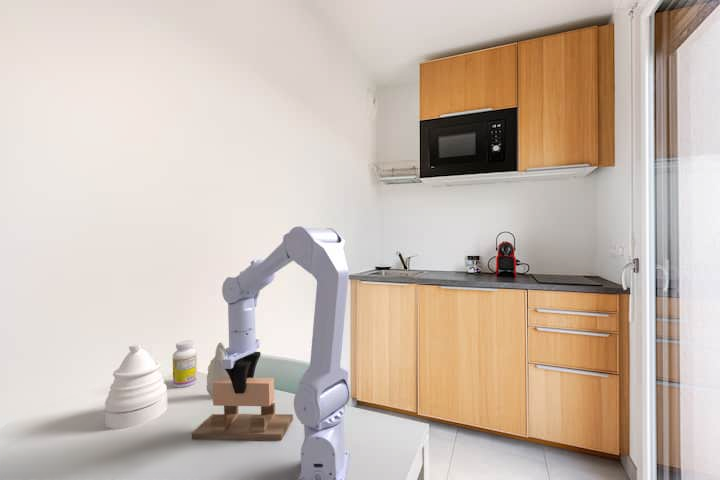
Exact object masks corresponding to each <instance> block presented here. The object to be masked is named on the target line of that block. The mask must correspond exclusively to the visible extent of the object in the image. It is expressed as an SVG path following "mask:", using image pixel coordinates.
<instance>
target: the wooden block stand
mask: <svg viewBox="0 0 720 480" xmlns="http://www.w3.org/2000/svg"><path fill="white" fill-rule="evenodd" d="M293 420H294V415H293V414H291V413H290V414H289V413H286V414H285V413H284V414H281V413H280V414H279V413H277V414H276V403H275V402H272V404H271V405H270V406H260V413H259V414H258V413H252V414H251V413H249V414H248V413H239V406H223V413H211V415H210V416H208V417H206V419H205V420H204V421H203V422H202V423H201V424H200V425H199V426H198V427H197V428H196V429H194V431H193V432H191V440H247V441H248V440H249V441H251V440H252V441H253V440H255V441H259V440H260V441H282V440H283V439H284V437H285V435H286V433H287V431H288V429H289V428H290V426H291V423H292V421H293Z"/></svg>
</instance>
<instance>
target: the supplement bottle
mask: <svg viewBox="0 0 720 480" xmlns="http://www.w3.org/2000/svg"><path fill="white" fill-rule="evenodd" d="M175 343H176V342H175ZM175 349H176V350H175V351H174V353H173V354H172V382H173V383H172V384H173V387H175V388H186V387H190V386H192V385H195V384H196V382H198V351H197V349H195V348H194V340H191V339H190V340H182V341H178V342H177V343H176V344H175Z"/></svg>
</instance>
